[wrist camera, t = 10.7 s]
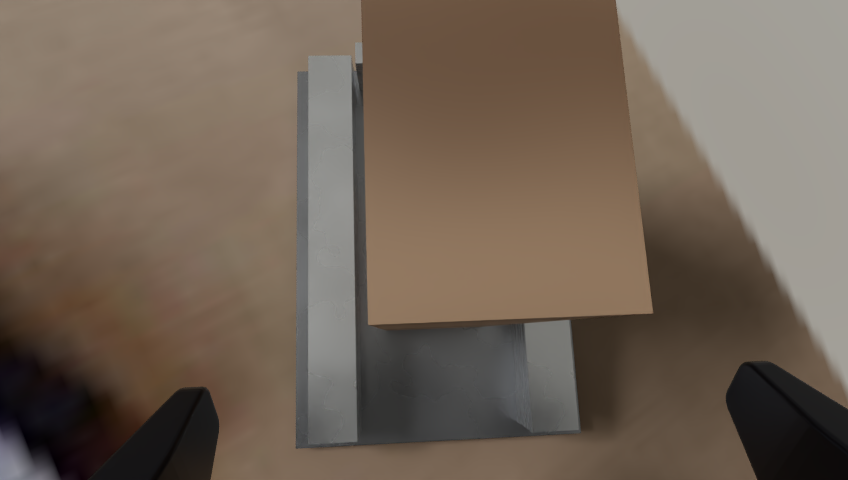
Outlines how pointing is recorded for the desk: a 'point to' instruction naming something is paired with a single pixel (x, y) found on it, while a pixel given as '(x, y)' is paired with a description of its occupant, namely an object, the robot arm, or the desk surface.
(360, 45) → the open-ended gray metal tray
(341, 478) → the desk surface
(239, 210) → the desk surface
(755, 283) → the desk surface
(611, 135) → the tan block
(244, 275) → the desk surface
